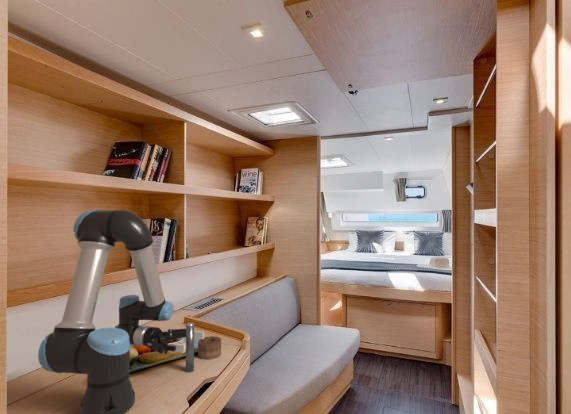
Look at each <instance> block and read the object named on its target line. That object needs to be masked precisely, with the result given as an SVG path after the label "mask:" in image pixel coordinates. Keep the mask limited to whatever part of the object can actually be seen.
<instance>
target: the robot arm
mask: <svg viewBox="0 0 571 414" xmlns="http://www.w3.org/2000/svg"><path fill="white" fill-rule="evenodd" d="M73 233H74V237H75V239H76V240H77V246H79V248H80V252H79V257H78V260H77V264H76V268H75V271H74V275H73V279H72V283H71V286H70V290H69V294H68V297H67V299H66V300H67V301H66V305H65V307H64V308H65V309H64V311H63V314H62V319H61V321H60V322H59V323H58V324H56V325H55V326H54V329H53V332H51V333H49V334H47V335H46V336H45V337H44V339H43V340H42V341H41V343H40V345H39V348H38V353H37V356H38V362H39V365H40V366H41V368H42V369H44V370H45V371H47V372H53V373H56V374H65V373H66V374H78V375H80V374H81V375H83V374H84V375H87V378H86V379H87V381H86V383H87V384H86V388H85V389H86V390H85V393H84V395H83V399H82V401H81V404H80V407H79V414H123V413H124V412H125V413H127V412H128V411H129V409H130V408H131V407H132V408H133V407H134V406H135V403H136V392H135V390H134V388H133V384H132V381H131V379H130V357H131V356H130V354H131V353H130V349H131V345H133V346H139V347H140V346H141V348H142V347H147V348H149V349H152V350H154V351H155V352H157V353H159V354H163V353H164V354H168V352H174V353H183V354H184V353H186V344H184V343H183V344H182V343H175V342H172V341H174V340H176V339H182V338H186V328H174V329H173V328H172V329H171V328H169V329H167V330H165V331H162V329H161V328H160V327H157V326H156V327H155V326H148V325H147V326H146V325H139V324H140V323H139V322H140V321H153V322H154V321H156V322H165V321H169V320H171V318H172V317H173V314H174V312H175V311H174V309H175V308H174V304H173V303H172V302H171V301H168V300H167V301H166V298H165V295H164V294H165V293H164V291H163V287H162V283H161V279H160V275H159V274H160V273H159V272H158V268H157V264H156V259H155V255H154V252H153V246H152V245H153V244H154V239H153V235H152V233H151V230H150V229H149V227H148V225H147V224H146V222H145V221H144V220H143V219H142V218H141V217H140V216H139V215H138V214H136V213H135V212H133V211H130V210H127V209H118V210H117V209H115V210H114V209H108V210H107V209H94V210H88V211H87V210H86V211H85V212H82V213H81V214H80V215H79V216H78V217H77V218H76V220H75V222H74V224H73ZM116 243H122V244H123V245H124V247H125V250H126V251H128V252H129V254H130V257H131V260H132V263H133V267H134V270H135V274H136V277H137V281H138V283H139V287H140V292H141V295H142V297H143V300H140V296H139V295H137V294H129V295H124V296H121V297H120V298H119V303H118V304H119V305H118V324H117V325H115V327H106V328H105V327H100V328H97V329H96V326H95V325H94V323H93V319H94V315H95V311H96V306H97V302H98V298H99V294H100V290H101V284H102V281H103V277H104V272H105V268H106V265H107V261H108V260H107V259H108V257H109V253H110V252H111V251H113V250H114V249H115V246H116ZM204 337H205V331H199V330H198V331H197V330H194V339H195V340H196V339H197V340H200V339H204ZM170 341H171V342H170ZM168 342H169V343H168ZM132 408H131V409H132ZM131 409H130V410H131ZM127 410H128V411H127ZM126 411H127V412H126ZM125 413H124V414H125Z"/></svg>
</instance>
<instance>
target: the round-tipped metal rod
mask: <svg viewBox="0 0 571 414" xmlns="http://www.w3.org/2000/svg"><path fill="white" fill-rule="evenodd" d="M185 329H186V337H185V372H186V373H193V372H194V371H195V338H194V331H195V323H194V322H192V321H189V322H187V323H186V324H185Z"/></svg>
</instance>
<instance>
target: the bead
mask: <svg viewBox="0 0 571 414" xmlns="http://www.w3.org/2000/svg"><path fill="white" fill-rule="evenodd" d="M197 340H198V341H197V342H198V343H197V358H199V359H201V360H205V361H206V360H214V359H217V358H219V357H220V356H221V355H222V338H221V337H218V336H212V335H211V336H204V339H197Z"/></svg>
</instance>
